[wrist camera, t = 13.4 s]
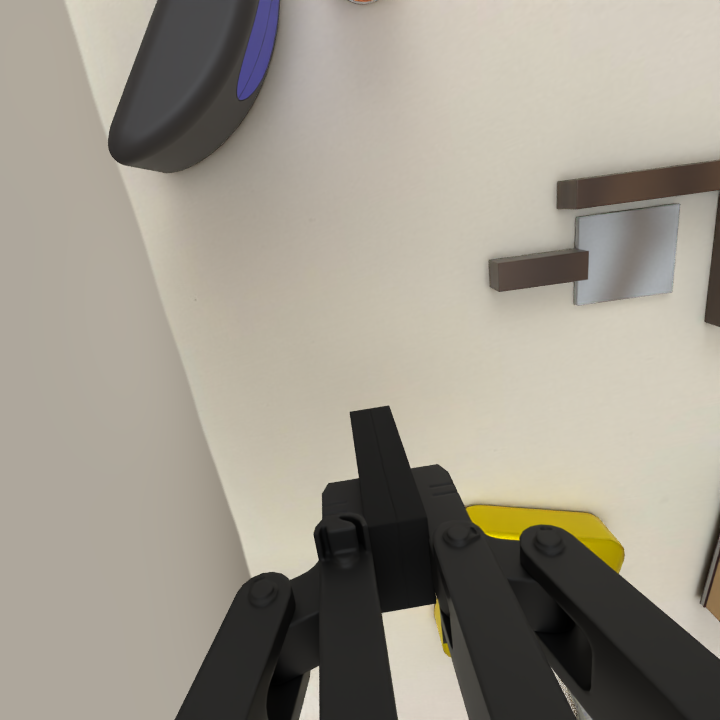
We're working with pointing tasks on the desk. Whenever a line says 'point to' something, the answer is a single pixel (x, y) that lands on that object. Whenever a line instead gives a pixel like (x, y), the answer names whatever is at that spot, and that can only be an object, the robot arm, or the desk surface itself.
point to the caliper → (579, 709)
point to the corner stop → (652, 187)
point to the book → (713, 585)
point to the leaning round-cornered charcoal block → (192, 81)
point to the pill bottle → (362, 1)
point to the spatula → (603, 258)
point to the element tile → (517, 520)
